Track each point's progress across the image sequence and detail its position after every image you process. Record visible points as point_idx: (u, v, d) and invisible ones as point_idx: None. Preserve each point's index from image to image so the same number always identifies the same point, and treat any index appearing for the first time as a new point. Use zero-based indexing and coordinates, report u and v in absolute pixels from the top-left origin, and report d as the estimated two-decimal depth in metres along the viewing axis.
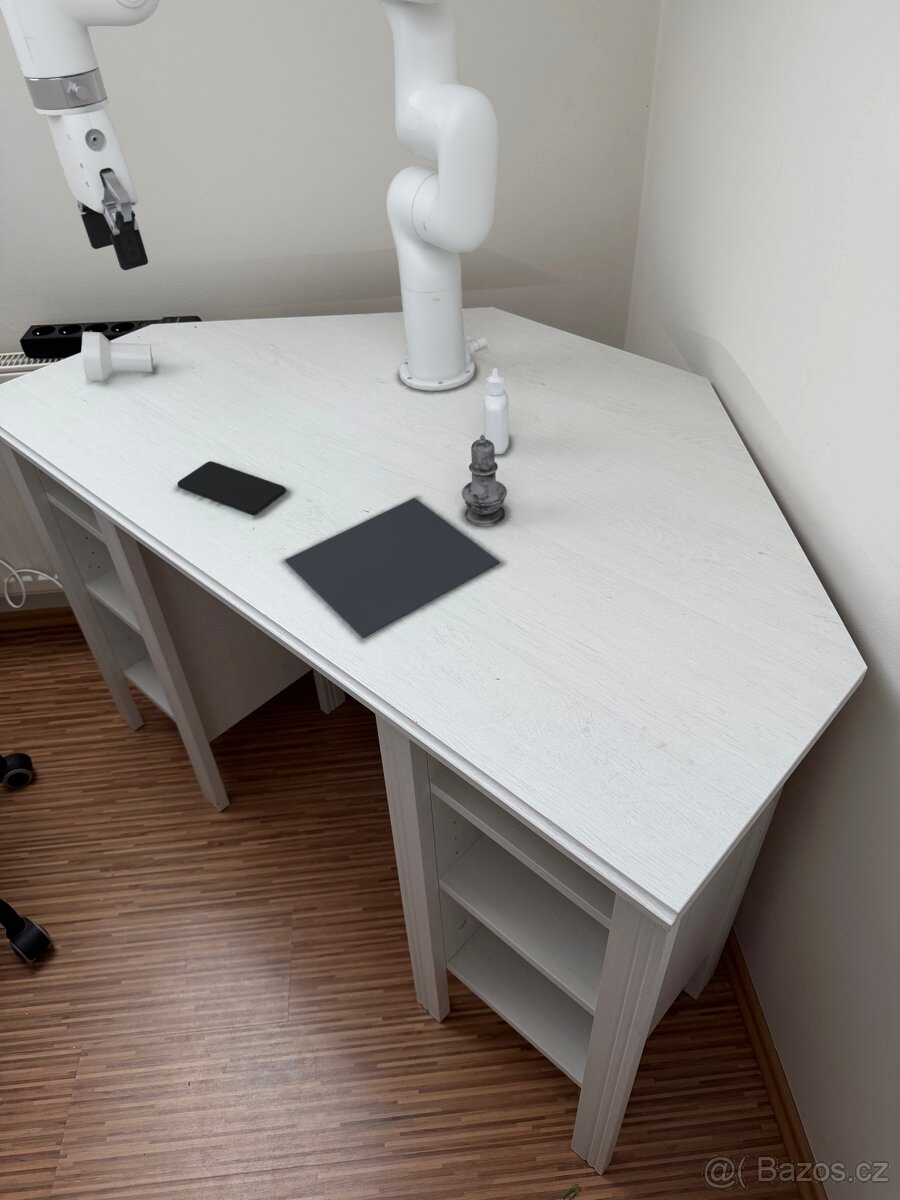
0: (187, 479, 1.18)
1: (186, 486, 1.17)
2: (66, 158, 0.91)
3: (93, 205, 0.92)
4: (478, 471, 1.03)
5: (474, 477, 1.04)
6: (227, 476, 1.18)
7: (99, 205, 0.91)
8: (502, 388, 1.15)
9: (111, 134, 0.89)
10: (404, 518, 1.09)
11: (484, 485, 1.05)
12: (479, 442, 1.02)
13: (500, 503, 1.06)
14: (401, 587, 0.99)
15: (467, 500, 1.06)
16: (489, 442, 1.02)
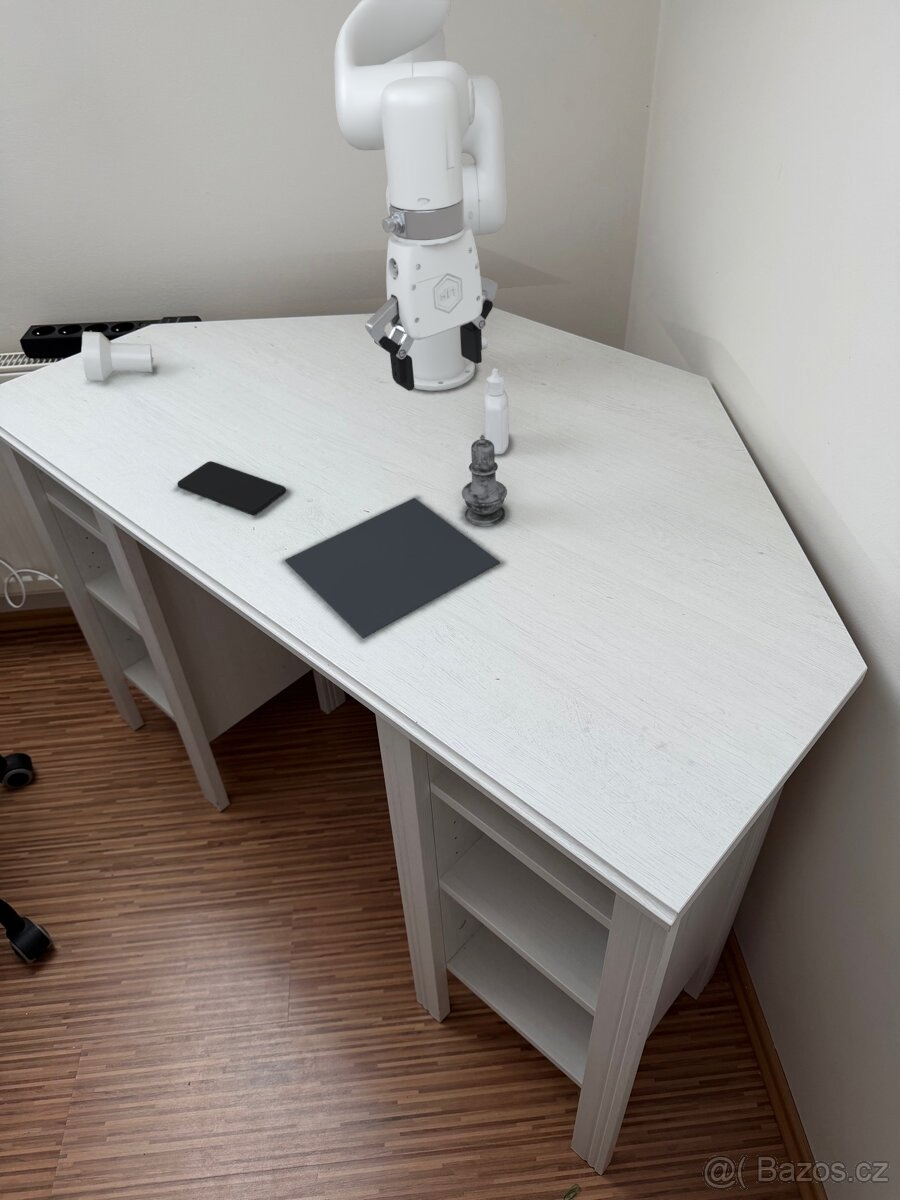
0: (187, 479, 1.18)
1: (186, 486, 1.17)
2: None
3: None
4: (478, 471, 1.03)
5: (474, 477, 1.04)
6: (227, 476, 1.18)
7: None
8: (502, 388, 1.15)
9: (403, 271, 0.85)
10: (404, 518, 1.09)
11: (484, 485, 1.05)
12: (479, 442, 1.02)
13: (500, 503, 1.06)
14: (401, 587, 0.99)
15: (467, 500, 1.06)
16: (489, 442, 1.02)
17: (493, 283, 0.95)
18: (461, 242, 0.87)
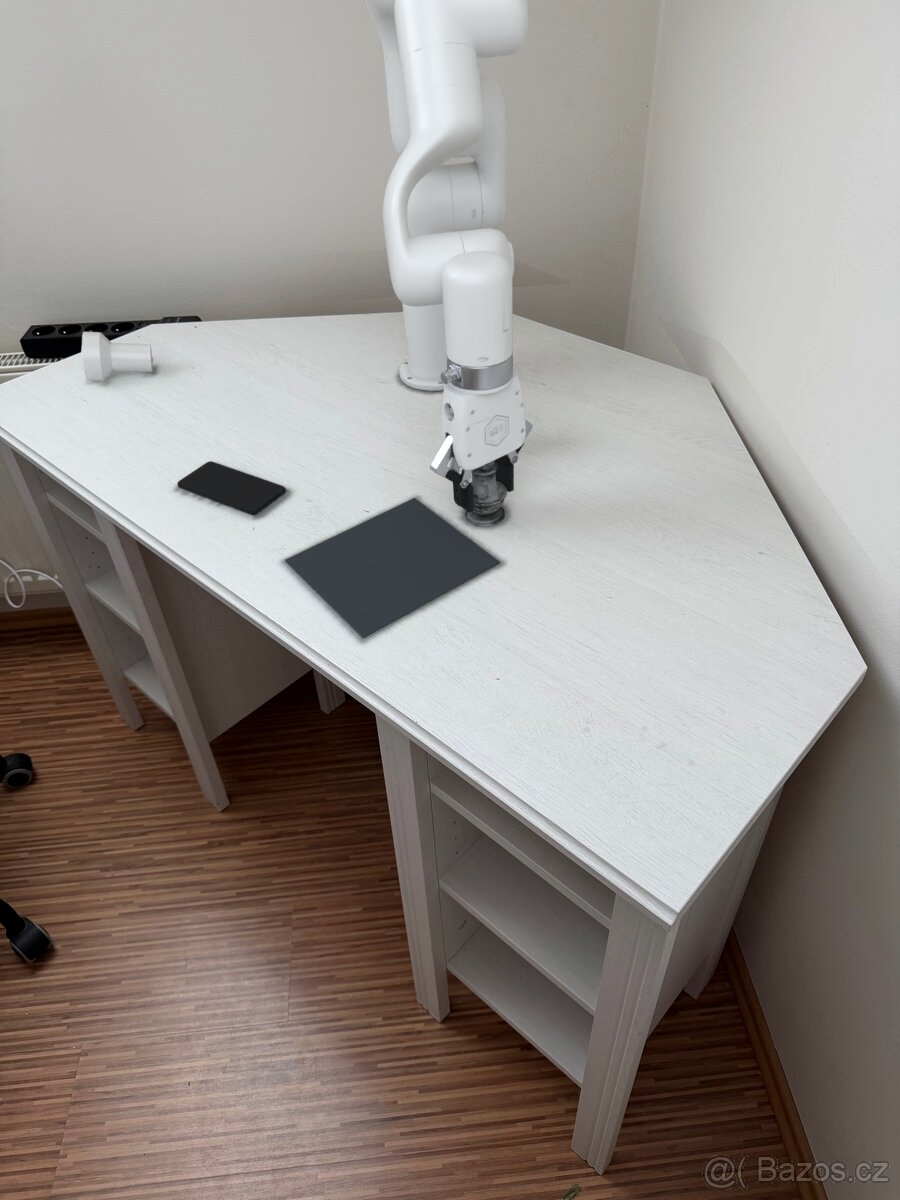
0: (187, 479, 1.18)
1: (186, 486, 1.17)
2: None
3: None
4: (478, 471, 1.03)
5: (474, 477, 1.04)
6: (227, 476, 1.18)
7: None
8: None
9: (458, 416, 0.95)
10: (404, 518, 1.09)
11: (484, 485, 1.05)
12: None
13: (500, 503, 1.06)
14: (401, 587, 0.99)
15: None
16: None
17: (529, 425, 1.05)
18: (509, 387, 0.96)
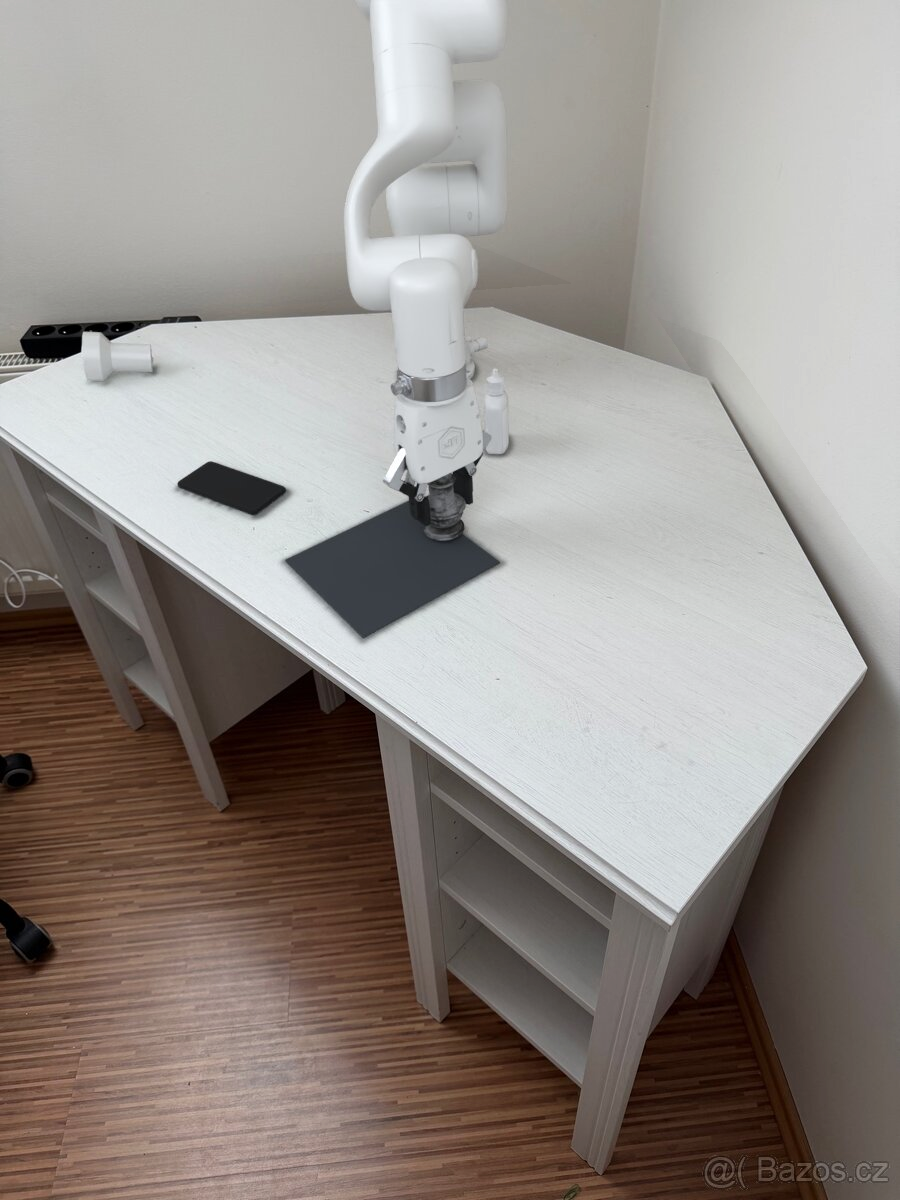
0: (187, 479, 1.18)
1: (186, 486, 1.17)
2: None
3: None
4: (434, 484, 1.00)
5: (431, 490, 1.01)
6: (227, 476, 1.18)
7: None
8: (502, 388, 1.15)
9: (410, 428, 0.91)
10: (404, 518, 1.09)
11: (441, 498, 1.01)
12: None
13: (458, 516, 1.03)
14: (401, 587, 0.99)
15: None
16: None
17: (487, 436, 1.01)
18: (464, 398, 0.93)
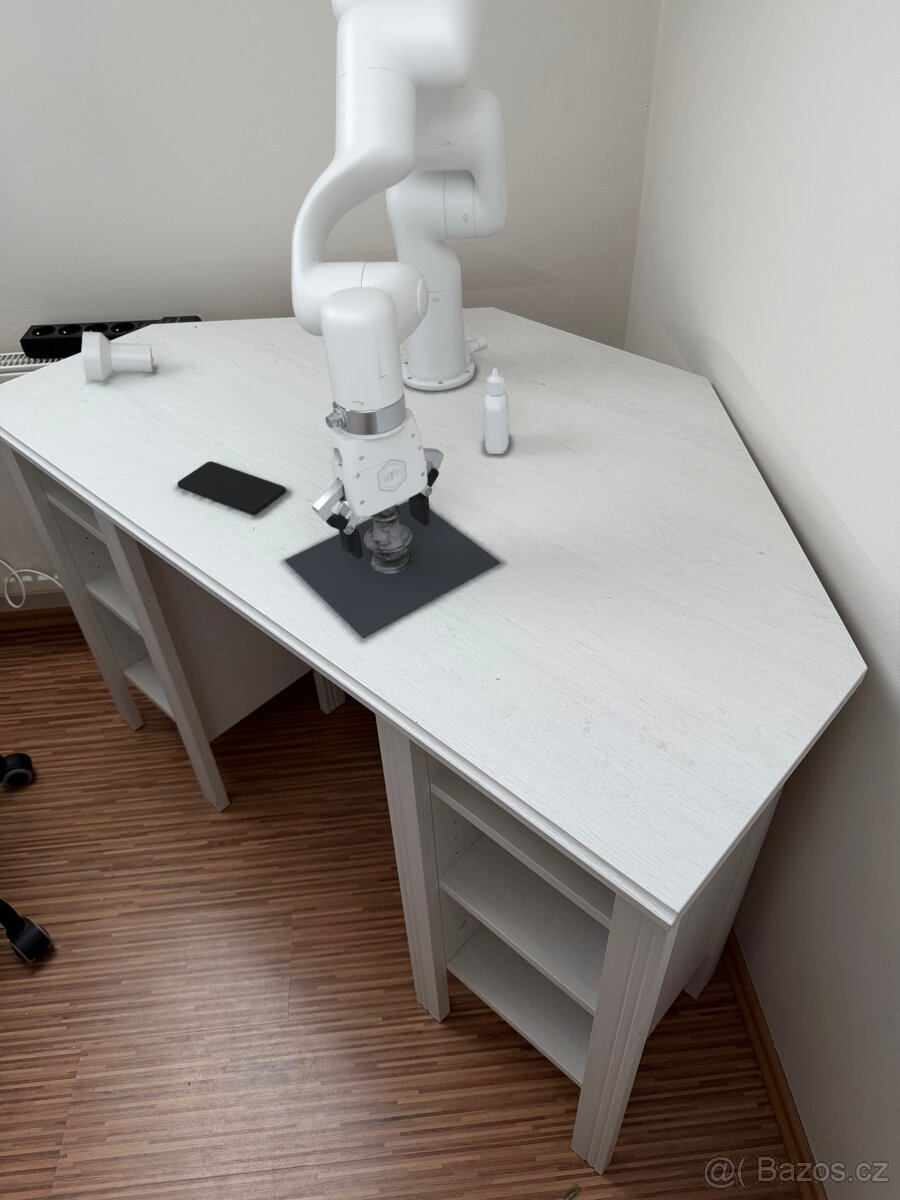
0: (187, 479, 1.18)
1: (186, 486, 1.17)
2: None
3: None
4: (378, 516, 0.97)
5: (375, 522, 0.98)
6: (227, 476, 1.18)
7: None
8: (502, 388, 1.15)
9: (347, 461, 0.88)
10: (404, 518, 1.09)
11: (386, 531, 0.98)
12: None
13: (404, 549, 1.00)
14: (401, 587, 0.99)
15: (369, 546, 0.99)
16: None
17: (438, 454, 0.98)
18: (403, 430, 0.90)
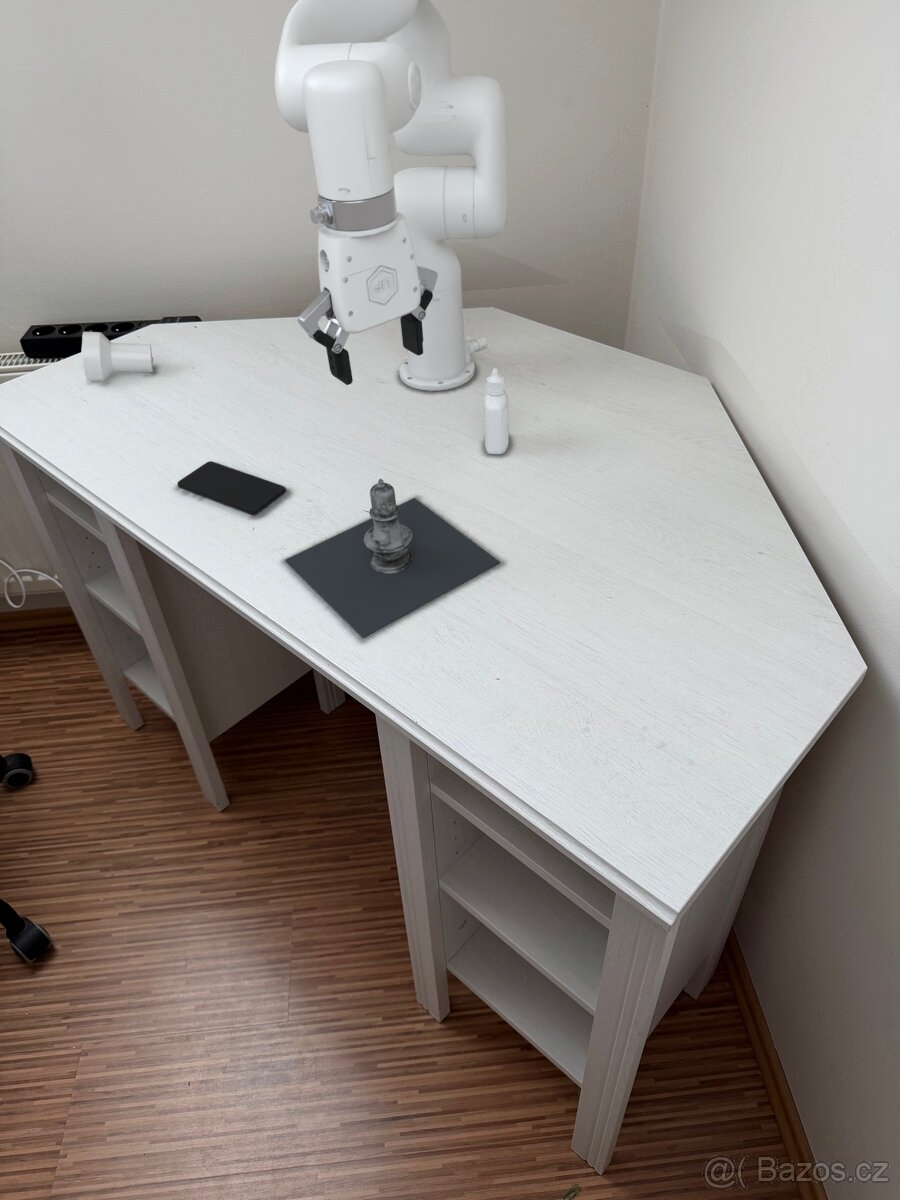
0: (187, 479, 1.18)
1: (186, 486, 1.17)
2: None
3: None
4: (378, 516, 0.97)
5: (375, 522, 0.98)
6: (227, 476, 1.18)
7: None
8: (502, 388, 1.15)
9: (334, 263, 0.83)
10: (404, 518, 1.09)
11: (386, 531, 0.98)
12: (377, 486, 0.95)
13: (404, 549, 1.00)
14: (401, 587, 0.99)
15: (369, 546, 0.99)
16: (388, 486, 0.96)
17: (432, 273, 0.92)
18: (394, 233, 0.84)
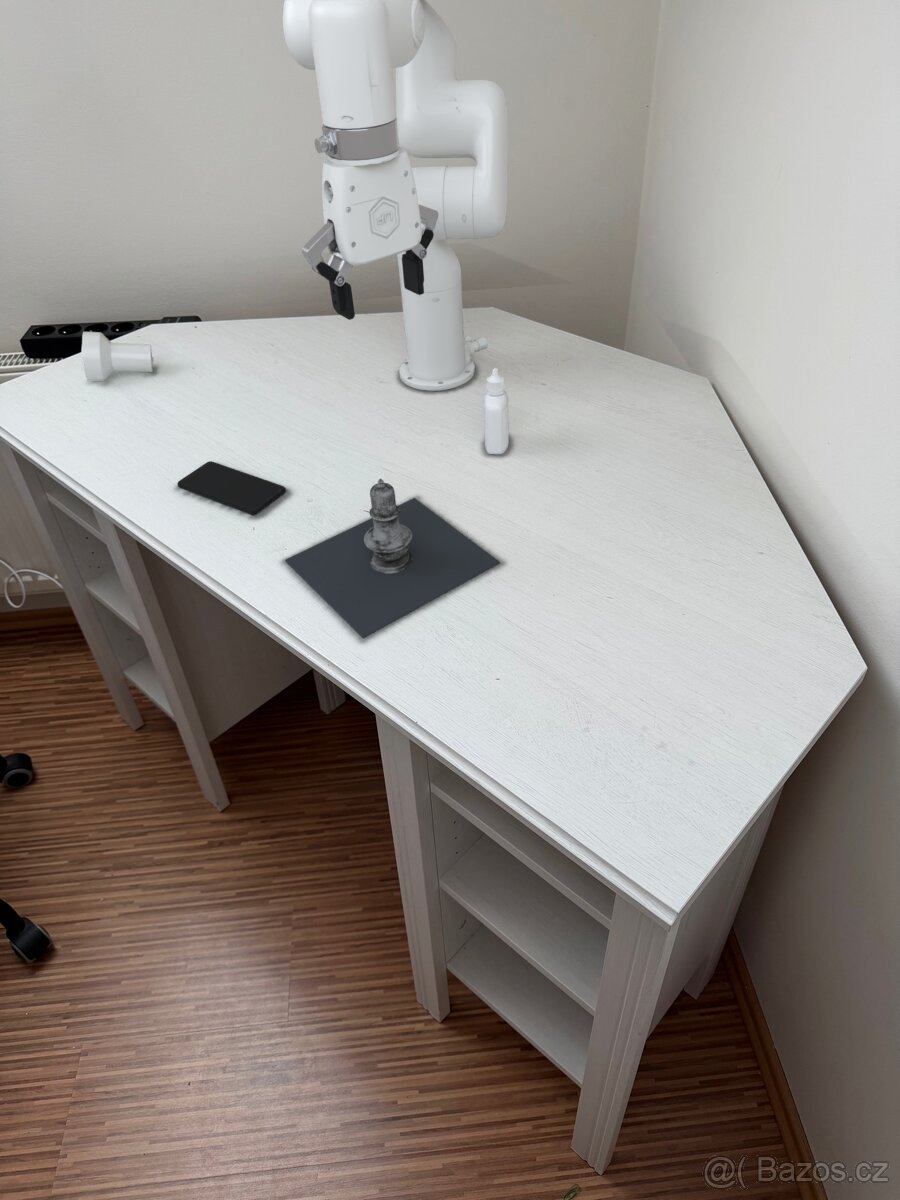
0: (187, 479, 1.18)
1: (186, 486, 1.17)
2: None
3: None
4: (378, 516, 0.97)
5: (375, 522, 0.98)
6: (227, 476, 1.18)
7: None
8: (502, 388, 1.15)
9: (337, 193, 0.85)
10: (404, 518, 1.09)
11: (386, 531, 0.98)
12: (377, 486, 0.95)
13: (404, 549, 1.00)
14: (401, 587, 0.99)
15: (369, 546, 0.99)
16: (388, 486, 0.96)
17: (432, 212, 0.94)
18: (396, 165, 0.87)
